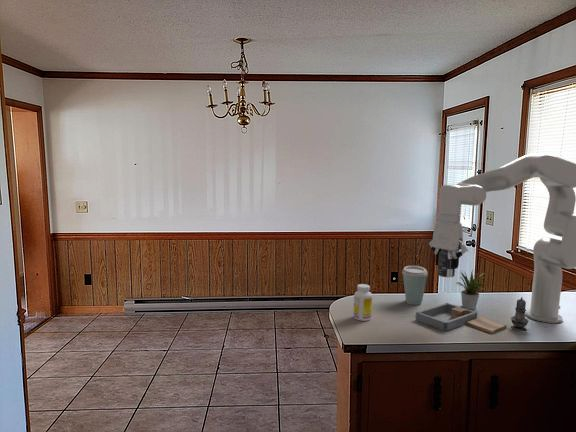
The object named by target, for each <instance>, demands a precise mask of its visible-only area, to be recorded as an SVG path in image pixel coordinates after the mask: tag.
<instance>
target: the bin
mask: <svg viewBox="0 0 576 432" xmlns="http://www.w3.org/2000/svg"><path fill="white" fill-rule="evenodd" d="M455 307H460V308H463V309H466V308H464V307H461V306H458V305H455V304H451V303H450V302H445V303H443V304H438V305H435V306H432V307H429V308H426V309H423V310H420V311H416V312H415V321H418V322H420V323H422V324H425V325H427V326H428V325H429V326H430V327H434V328H436V329H439V330H441V331H444V332H448V331H450V330H453V329H456V328H459V327H462V326H464V325H466V322H468V321H471V320H473V319H476V318H478V312H477V311H474V310H472V309H466V310H467V314H466V315H464V316H461V317H458V318H455V319H449V320H447V321H445V320H441V319H439V318H436V317H434V316H437V315H439V314H442V313H446V312H449V313H451V309H452V308H455Z"/></svg>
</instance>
